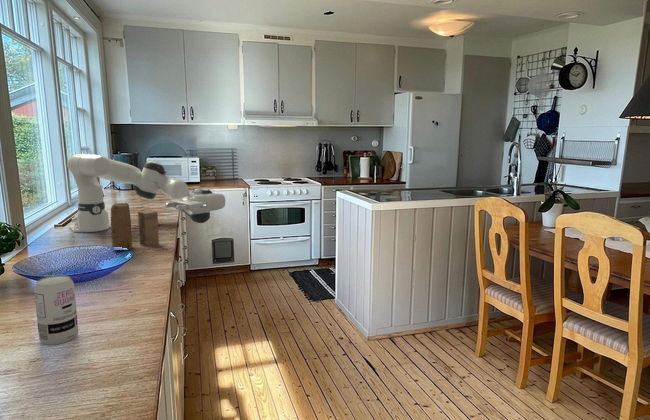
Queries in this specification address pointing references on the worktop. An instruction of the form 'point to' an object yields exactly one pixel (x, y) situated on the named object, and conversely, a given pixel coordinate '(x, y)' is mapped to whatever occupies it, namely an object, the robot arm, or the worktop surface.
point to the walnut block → (148, 228)
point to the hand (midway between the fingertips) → (171, 206)
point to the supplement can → (56, 310)
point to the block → (121, 226)
